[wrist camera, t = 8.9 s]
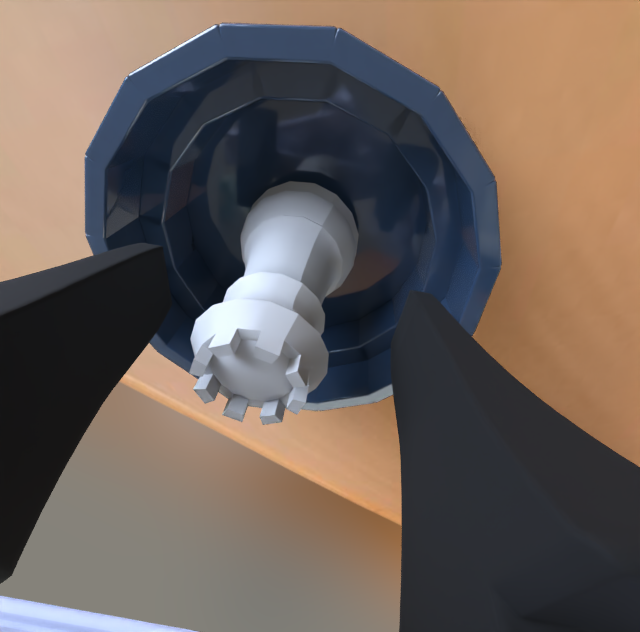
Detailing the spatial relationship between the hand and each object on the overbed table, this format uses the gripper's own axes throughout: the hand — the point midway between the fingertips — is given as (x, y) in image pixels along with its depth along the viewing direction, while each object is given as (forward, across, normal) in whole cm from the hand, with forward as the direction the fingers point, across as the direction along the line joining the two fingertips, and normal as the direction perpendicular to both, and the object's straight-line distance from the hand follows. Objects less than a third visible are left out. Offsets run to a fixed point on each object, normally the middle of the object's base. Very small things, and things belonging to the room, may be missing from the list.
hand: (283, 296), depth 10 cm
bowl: (+5, 0, 0) cm, 5 cm away
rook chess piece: (+5, 0, 0) cm, 5 cm away
